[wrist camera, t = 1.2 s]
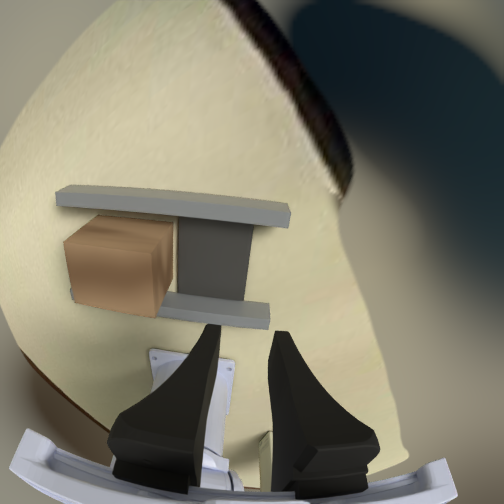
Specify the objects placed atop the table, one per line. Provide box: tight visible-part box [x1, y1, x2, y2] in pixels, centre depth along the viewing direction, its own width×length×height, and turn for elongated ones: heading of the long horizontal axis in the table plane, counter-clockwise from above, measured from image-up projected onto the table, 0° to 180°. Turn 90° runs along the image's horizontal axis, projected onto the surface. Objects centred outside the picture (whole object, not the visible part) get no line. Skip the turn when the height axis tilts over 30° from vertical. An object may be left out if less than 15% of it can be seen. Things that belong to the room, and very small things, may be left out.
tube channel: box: [55, 185, 291, 330], centre depth 19 cm, size 9×16×2 cm, turn 83°
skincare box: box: [259, 431, 273, 492], centre depth 27 cm, size 6×4×12 cm
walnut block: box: [63, 215, 173, 318], centre depth 18 cm, size 4×6×5 cm
